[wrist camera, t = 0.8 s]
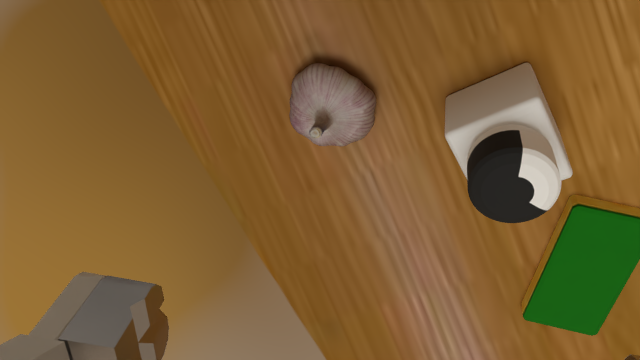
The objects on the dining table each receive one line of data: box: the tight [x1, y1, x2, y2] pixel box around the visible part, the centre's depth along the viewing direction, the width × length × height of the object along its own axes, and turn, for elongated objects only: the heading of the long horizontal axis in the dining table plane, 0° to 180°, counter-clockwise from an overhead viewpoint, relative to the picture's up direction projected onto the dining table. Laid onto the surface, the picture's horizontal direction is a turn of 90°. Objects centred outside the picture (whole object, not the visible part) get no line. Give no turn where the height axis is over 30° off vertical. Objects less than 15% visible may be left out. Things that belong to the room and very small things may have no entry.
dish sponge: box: [521, 194, 640, 336], centre depth 56 cm, size 7×14×2 cm, turn 172°
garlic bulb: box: [290, 63, 376, 146], centre depth 49 cm, size 8×7×8 cm
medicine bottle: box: [445, 63, 572, 223], centre depth 45 cm, size 7×7×12 cm
